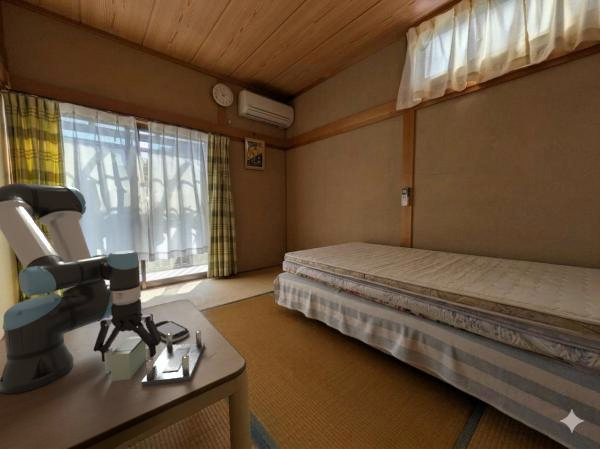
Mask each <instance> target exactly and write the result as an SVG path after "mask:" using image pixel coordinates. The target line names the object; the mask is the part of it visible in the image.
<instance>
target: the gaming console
mask: <svg viewBox="0 0 600 449" xmlns="http://www.w3.org/2000/svg"><path fill="white" fill-rule="evenodd" d="M155 325H156V327H157V330H158V332H159V334H160V336H161V338H162V340H163V341H164V342H166V334H168V333H172V344H174V343H177V342H180V341H182V340H184V339H185V338H187V337H188V336H189V335H190V331H189V330H188V328H187V327H185V326H183V325H181V324H179V323H176V322H174V321H172V320H170V321H169V320H162V321H159V322H157V323H155Z"/></svg>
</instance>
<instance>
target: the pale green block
mask: <svg viewBox="0 0 600 449" xmlns="http://www.w3.org/2000/svg"><path fill="white" fill-rule="evenodd" d="M146 346H147V345H146V343H145V342H144V341H143V340H142V339H141V338H140V337H139V335H138V336H129V337H127V338H126V339H124V341H122V343H121V344H120V345H119V346H117V347H116V348H115V350H113V353H112V354H111V355H110V364H111V371H110V375H111V379H110V380H111V382H117V381H126V380H131V379H132V377H133V376H134V375H135V374H136V372H137V371H138V370H139V369H140V367H141V366H142V365H143V363H144V362H146V360H147V355H146V349H147V347H146Z"/></svg>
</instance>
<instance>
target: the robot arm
mask: <svg viewBox="0 0 600 449" xmlns="http://www.w3.org/2000/svg"><path fill="white" fill-rule="evenodd" d="M86 202H87V201H86V199H85V196H84V195H83V193H82V191H80V190H79V189H78V188H75V187H73V186H66V185H62V184H59V185H54V184H53V185H49V184H37V183H36V184H35V183H23V182H22V183H20V182H18V183H17V182H16V183H15V182H14V183H9V184H5V185H2V186H0V231H1V233H2V235H3V236H4V237H5V239H6V241H7V243H8V244H9V245H10V247H11V249H12V251H13V252H14V253H15V254H14V255H16V257H17V259H18V260H19V262H20V264H21V265H22V266H23V269H21V270H20V271H19V273H18V284H19V287H20V291H21V292H22V293H23V295H25V296H29V297H31V296H35V297H32V298H29V299H26V300H22V301H20V302H18V303H16V304H14V305H12V306H11V307H9V308H8V309H7V310H6V311H4V314H3V324H2V329H3V332H4V343H5V344H4V345H5V352H6V353H5V354H6V363H5V364H4V368H3V370H2V374H1V377H0V393H1V392H2V393H1V394H4V393H5V394H6V395H13V394H20V393H21V394H22V393H25V392H28V391H32V390H34V389H35V390H36V389H39V388H40V387H43V386H45V385H47V384H49V383H52V382H54V381H56V380H58V379H59V378H61V377H62V376H64V375H66V374H67V373H68V372H69V371H70V370H71V369H72V368H73V366H74V357H73V354H72V353H71V352H70V351H69V348H68V346H67V345H66V342H65V337H64V336H65V335H64V334H66V333H68V332H69V333H70V332H73V331H74V330H75V331H76V329H77V330H78V329H81V328H83V327H85V326H88V325H90V324H94V323H96V322H97V323H98V322H100V323H99V324H100V329H99V331H98V334H97V338H96V340H95V342H94V346H93V351H94V352H99V353H101V361H102V363H104V369H105V374H109V373H111V364H110V355H111V354H112V353H113V351H114V350H113V347H111V345H112V344H113V342H114V341H115V339H116V338H117V336H118V335H119V333H120V332H121V333H122V332H126V331H127V332H133V333H135V334H137V335H138V336H139V337H140V338H141V339H142V340H143V341H144V342H145V343H146V346H147V347H146V361H147V360H148V359H153V365H154V363H155V362H154V358H155V357H154V356H155V355H156V354H157V346H159V345H160V343H161V342H162V338H161V336H160V334H159V332H158V330H157V327H156V325H155V324H156V323H155V322H154V315H153V313H149V314H148V315H147V314H146V315H143V314H142V299H141V297H142V293H141V278H140V277H141V276H140V275H141V274H140V259H139V254H138V251H136V250H133V249H132V250H131V249H130V250H118V251H112V252H110V253H109V254H96V255H93V256H91V254H90V253H91V252H90V249H89V247H88V244H87V241H86V238H85V236H84V232H83V230H82V226H81V223H80V220H81V219H82V218H83V215H84V214H85V212H86V210H87V205H86ZM35 218H37V219H38V222H39V223H40V224H41V225H43V226H46V227H47V230H48V233H49V237H50V238H51V241H50V239H49V238H48V237H47V235H46V233H45V232H44V231H43V229H42V228H41V226H40V225H39V223H38V222H37V221H36V219H35ZM106 281H109V284H107V283H106ZM60 290H63V291H61V294H62V296H61V295H60V294H59V293H52V292H55V291H57V292H58V291H60ZM49 293H50V294H49ZM44 294H46V295H44ZM111 316H112V317H111ZM142 321H143V322H142ZM143 323H144V324H145V326H146V328H145V327H144V324H143ZM111 325H113V326H114V328H113V329H112V331H111V333H110V335H109V336H108V338H107V334H108V332H109V329H110V326H111ZM106 338H107V340H106ZM105 340H106V341H105Z"/></svg>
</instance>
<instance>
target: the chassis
mask: <svg viewBox="0 0 600 449" xmlns="http://www.w3.org/2000/svg"><path fill="white" fill-rule="evenodd" d="M165 342H166V346H165V347H164V349H163V350H162V352H161V353H160V354H159V356H158V357H157V359H156V360H155V362H154V364H153V360H154V358H153V359H148V360H147V359H146V360H145V371H146V373H145V374H146V375H145V377H143V379H142V380H141V387H151V386H159V385H167V384H169V385H170V384H176V383H185V382H191V381H192V378H193V375H194V373H195V370H196V368H197V366H198V363H199V360H200V358H201V357H202V354H203V351H204V349H205V344H206V343H205V341H203V340H202V330H196V331H195V342H194V343H193V342H192V343H183V344H182V343H181V344H173V343H172V333H168V334H166V341H165Z"/></svg>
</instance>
